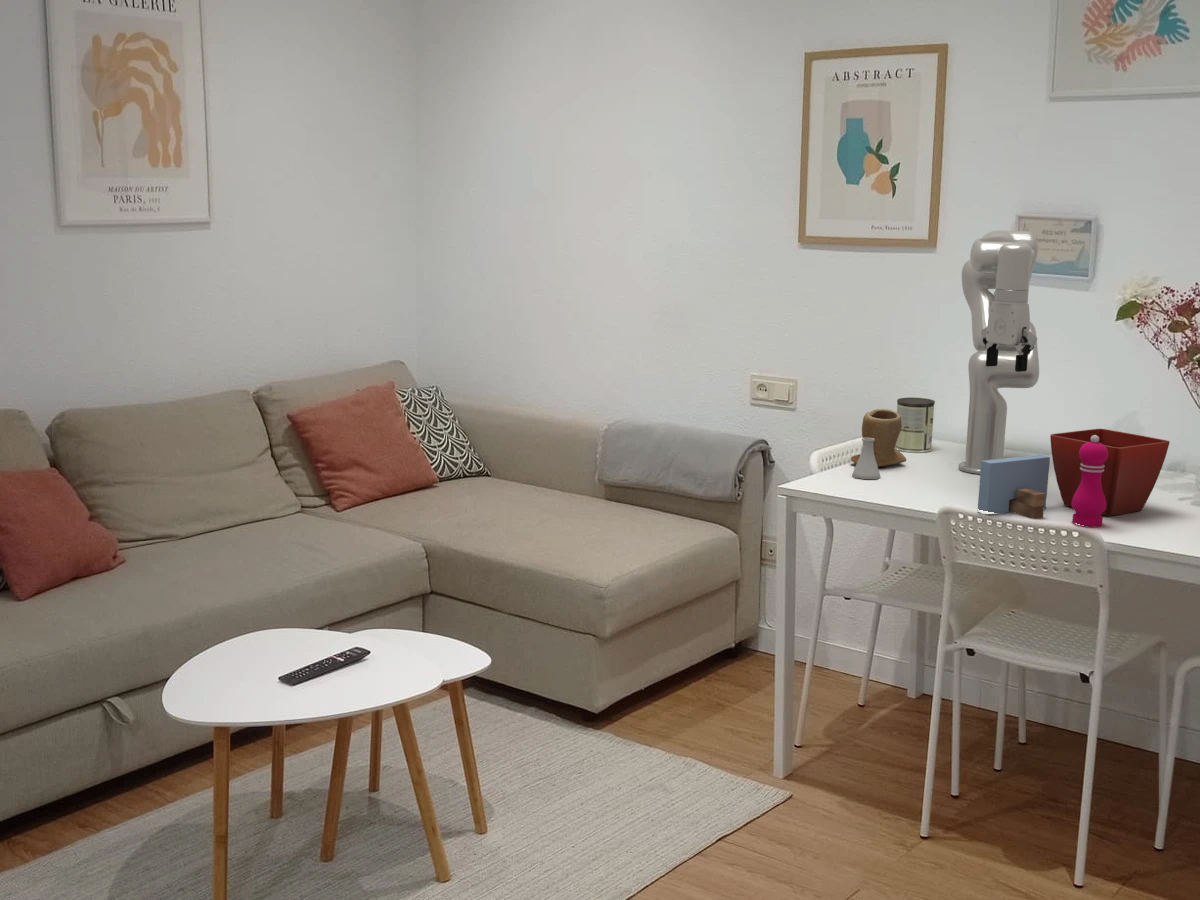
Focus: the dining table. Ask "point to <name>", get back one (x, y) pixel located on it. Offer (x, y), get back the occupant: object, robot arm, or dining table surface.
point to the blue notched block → (1011, 480)
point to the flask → (867, 462)
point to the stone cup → (883, 436)
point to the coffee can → (915, 424)
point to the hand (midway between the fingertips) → (1005, 368)
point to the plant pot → (1111, 467)
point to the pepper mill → (1090, 485)
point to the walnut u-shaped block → (1028, 503)
